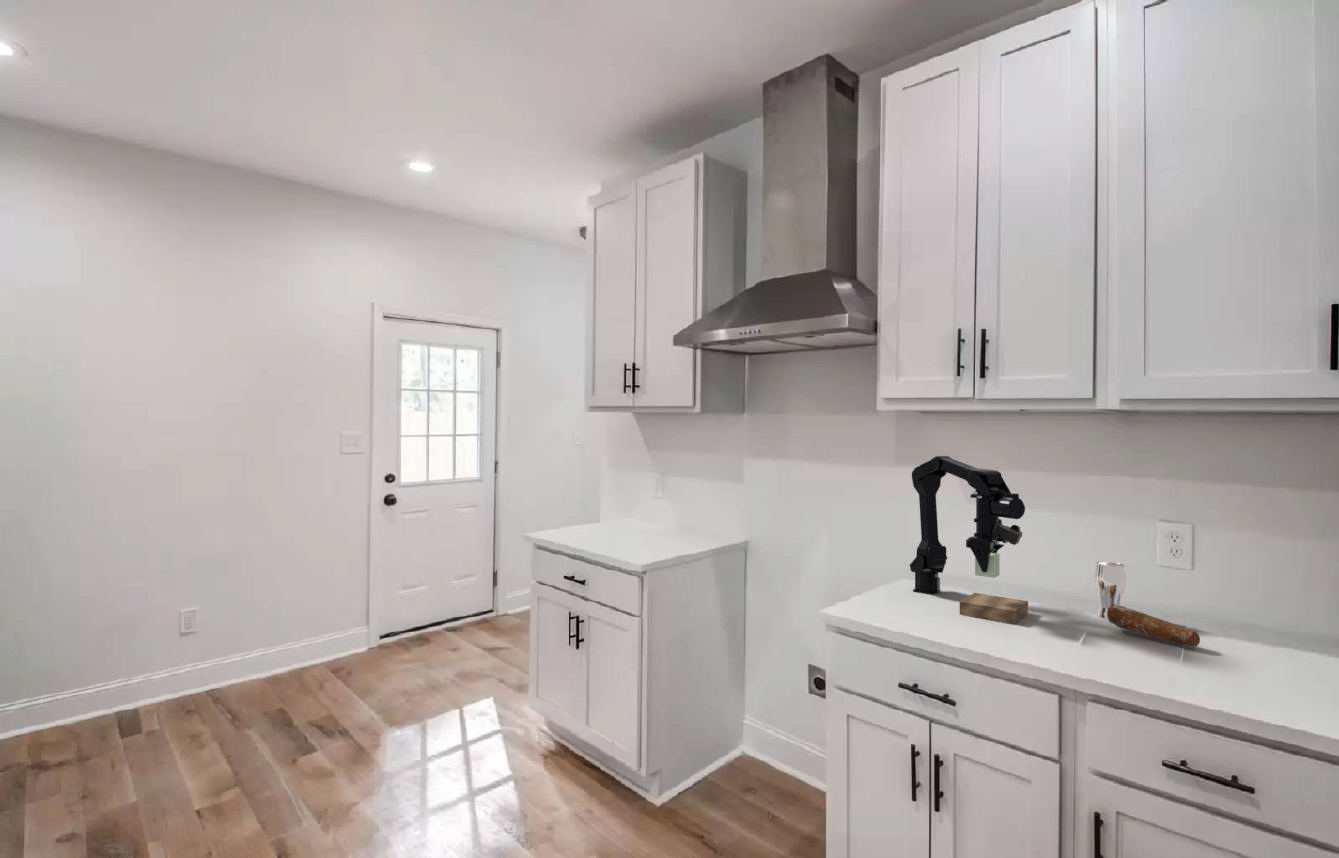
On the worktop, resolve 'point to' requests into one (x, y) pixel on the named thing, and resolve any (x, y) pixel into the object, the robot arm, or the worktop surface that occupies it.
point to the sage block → (989, 567)
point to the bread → (1151, 626)
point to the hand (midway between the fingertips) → (987, 570)
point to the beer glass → (1109, 585)
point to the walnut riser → (994, 608)
